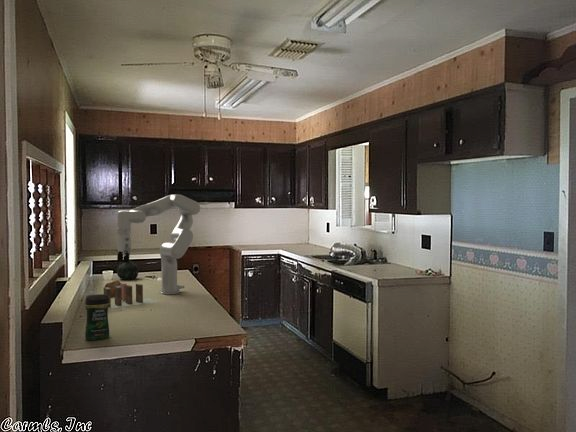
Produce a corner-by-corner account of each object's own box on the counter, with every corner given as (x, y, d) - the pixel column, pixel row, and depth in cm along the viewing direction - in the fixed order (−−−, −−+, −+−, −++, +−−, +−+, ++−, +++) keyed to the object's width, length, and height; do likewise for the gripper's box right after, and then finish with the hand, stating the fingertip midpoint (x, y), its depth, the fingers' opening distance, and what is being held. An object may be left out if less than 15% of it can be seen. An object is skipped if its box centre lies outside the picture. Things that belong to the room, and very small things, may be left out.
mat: (150, 299, 286) (150, 298, 286) (158, 302, 277) (158, 301, 277) (94, 306, 266) (94, 305, 266) (101, 310, 257) (101, 309, 257)
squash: (125, 269, 365) (119, 256, 355) (144, 270, 362) (138, 257, 352) (117, 284, 355) (110, 271, 345) (136, 286, 352) (130, 272, 342)
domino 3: (123, 299, 285) (123, 282, 284) (126, 300, 281) (126, 283, 281) (120, 300, 284) (120, 282, 283) (123, 301, 280) (123, 284, 279)
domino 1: (107, 305, 267) (107, 287, 267) (110, 307, 263) (110, 288, 263) (103, 305, 266) (103, 287, 265) (106, 307, 262) (106, 289, 261)
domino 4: (129, 302, 275) (128, 284, 274) (132, 303, 271) (132, 286, 270) (125, 302, 273) (125, 285, 273) (128, 304, 269) (128, 286, 269)
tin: (108, 297, 290) (108, 283, 289) (103, 297, 290) (103, 283, 290) (121, 293, 304) (121, 279, 304) (117, 292, 305) (116, 279, 305)
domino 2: (118, 303, 271) (118, 286, 270) (121, 305, 267) (121, 287, 267) (114, 304, 270) (114, 286, 269) (118, 306, 266) (117, 287, 265)
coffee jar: (86, 342, 202) (85, 297, 201) (84, 337, 209) (83, 294, 208) (111, 339, 206) (110, 295, 205) (108, 334, 213) (107, 292, 212)
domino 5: (139, 301, 278) (139, 283, 278) (142, 302, 275) (142, 284, 274) (135, 301, 277) (135, 283, 277) (139, 302, 273) (139, 285, 273)
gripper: (136, 232, 278) (135, 262, 278) (124, 231, 291) (124, 260, 291) (123, 232, 273) (122, 263, 273) (112, 231, 286) (111, 260, 287)
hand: (123, 261), depth 282 cm, fingers open, 9 cm apart
